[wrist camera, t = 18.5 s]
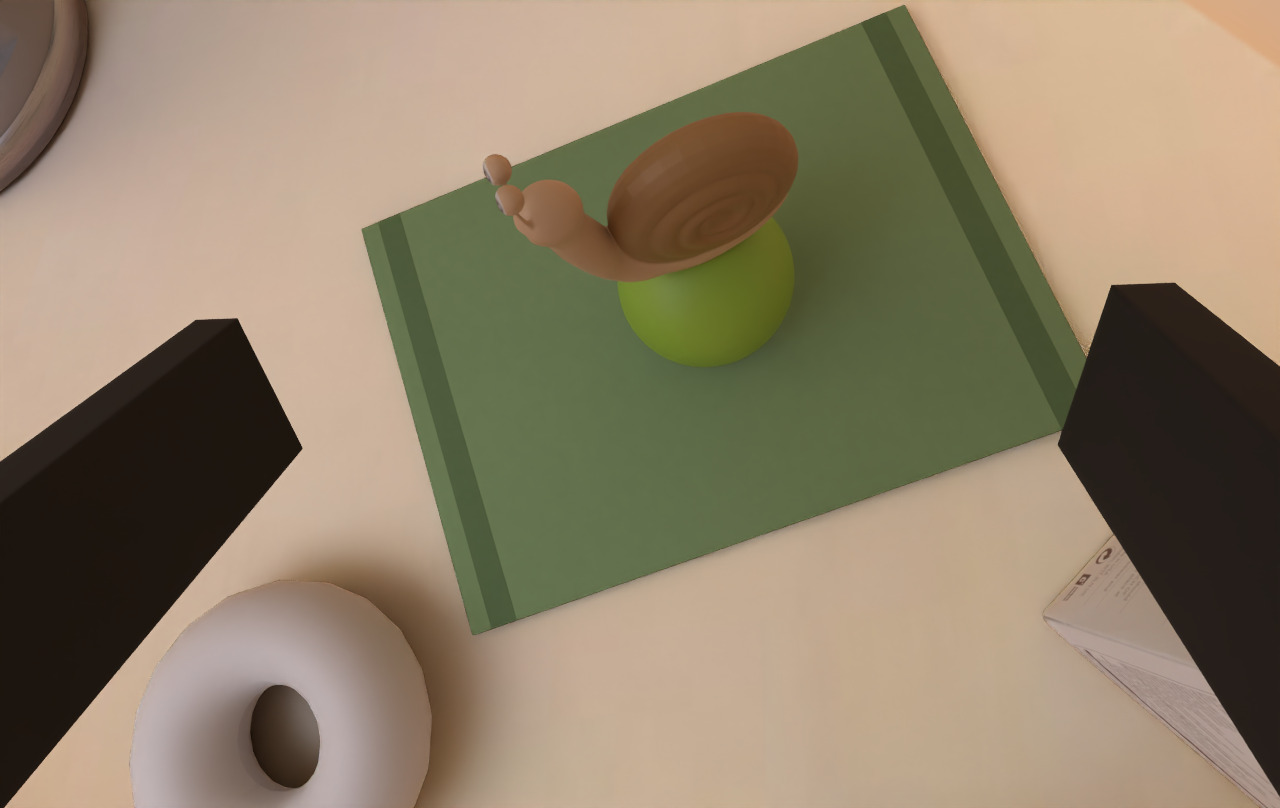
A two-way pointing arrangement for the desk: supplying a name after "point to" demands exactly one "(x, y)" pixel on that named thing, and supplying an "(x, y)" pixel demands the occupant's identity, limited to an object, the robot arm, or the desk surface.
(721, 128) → the snail figurine
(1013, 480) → the desk surface
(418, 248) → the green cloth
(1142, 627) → the supplement box
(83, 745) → the desk surface
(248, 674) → the donut
